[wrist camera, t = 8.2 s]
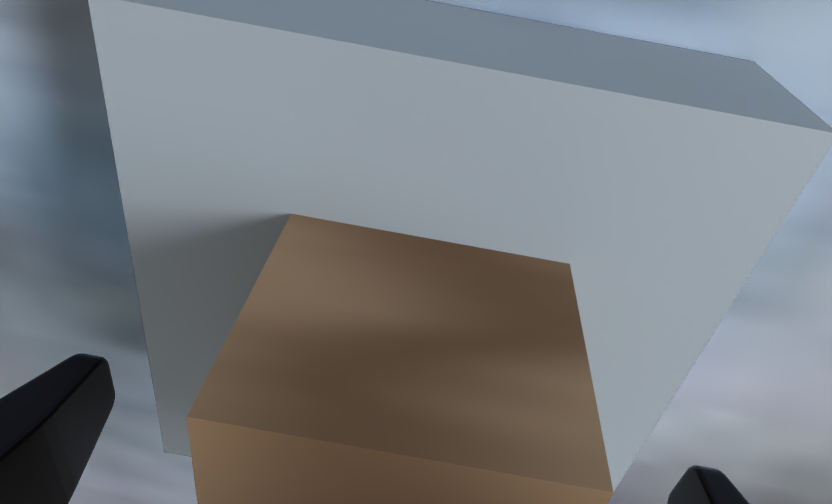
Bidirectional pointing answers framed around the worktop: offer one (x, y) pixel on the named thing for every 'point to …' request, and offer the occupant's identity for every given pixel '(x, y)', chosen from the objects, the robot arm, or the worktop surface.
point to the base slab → (445, 169)
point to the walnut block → (400, 379)
